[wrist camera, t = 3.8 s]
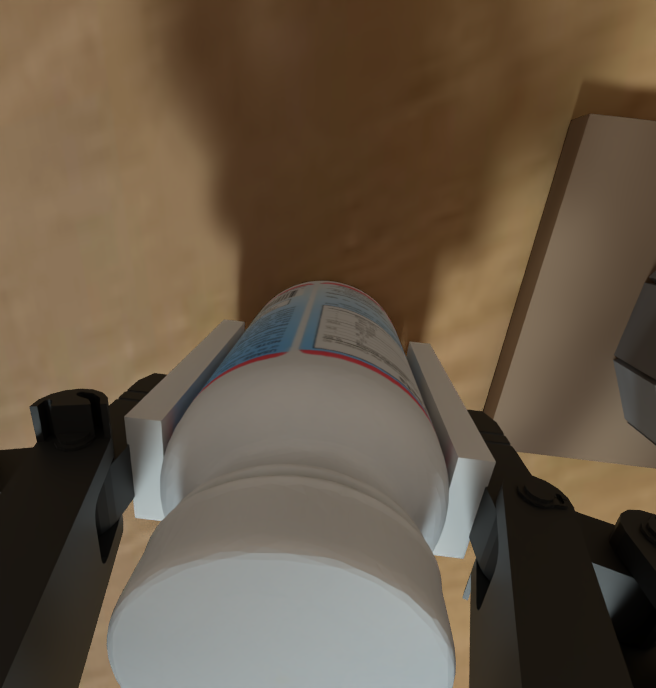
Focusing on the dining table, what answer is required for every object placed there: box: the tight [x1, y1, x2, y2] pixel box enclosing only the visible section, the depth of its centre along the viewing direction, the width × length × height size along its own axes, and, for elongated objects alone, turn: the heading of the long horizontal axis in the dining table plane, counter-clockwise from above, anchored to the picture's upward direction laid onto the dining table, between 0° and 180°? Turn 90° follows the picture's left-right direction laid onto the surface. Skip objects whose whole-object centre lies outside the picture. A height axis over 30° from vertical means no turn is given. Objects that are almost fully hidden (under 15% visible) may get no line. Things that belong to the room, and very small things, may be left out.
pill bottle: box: [107, 281, 456, 688], centre depth 10 cm, size 6×6×11 cm
